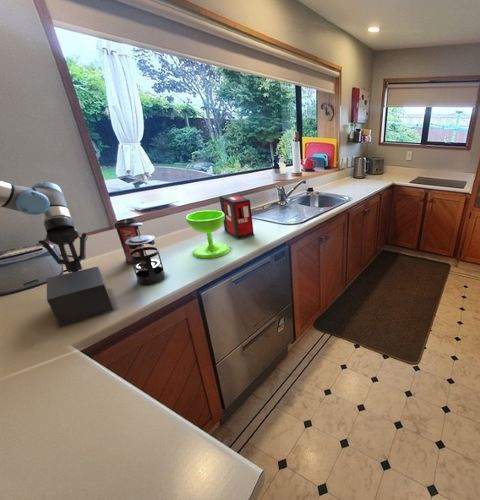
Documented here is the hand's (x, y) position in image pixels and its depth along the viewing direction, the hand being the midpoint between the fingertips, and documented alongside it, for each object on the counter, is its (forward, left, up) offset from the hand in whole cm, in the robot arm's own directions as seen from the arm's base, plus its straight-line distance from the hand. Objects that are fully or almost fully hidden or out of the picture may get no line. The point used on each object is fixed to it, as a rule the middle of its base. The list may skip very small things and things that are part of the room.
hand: (77, 278), depth 99 cm
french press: (+20, +5, -5) cm, 22 cm away
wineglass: (+38, +28, -5) cm, 48 cm away
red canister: (+8, +24, -5) cm, 26 cm away
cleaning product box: (+48, +51, -5) cm, 71 cm away
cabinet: (+6, -11, -5) cm, 13 cm away
